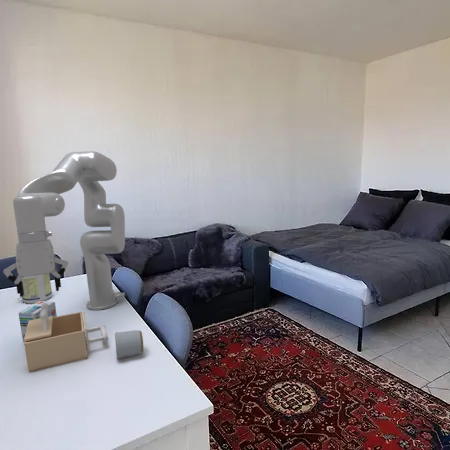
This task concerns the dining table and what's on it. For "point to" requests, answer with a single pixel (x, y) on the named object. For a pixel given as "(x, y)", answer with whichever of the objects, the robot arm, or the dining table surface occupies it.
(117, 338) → the ceramic mug
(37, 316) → the light bulb box
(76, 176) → the robot arm
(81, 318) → the carton
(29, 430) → the dining table surface
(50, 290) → the supplement tub
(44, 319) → the flap
